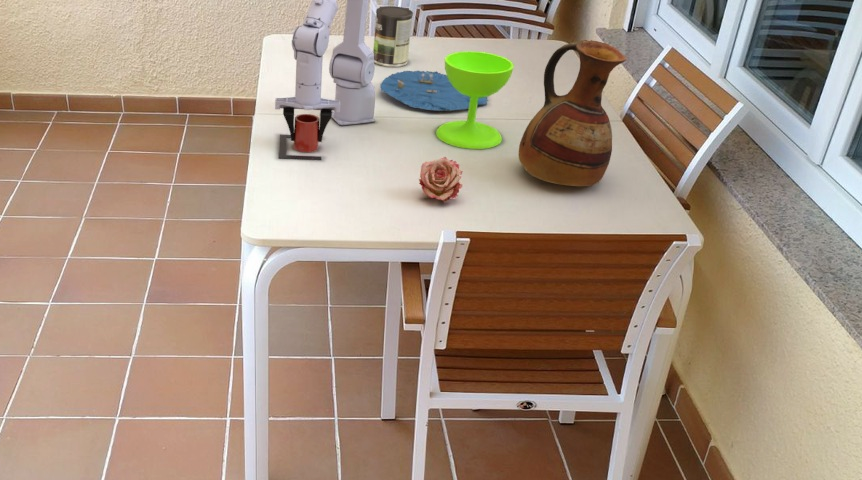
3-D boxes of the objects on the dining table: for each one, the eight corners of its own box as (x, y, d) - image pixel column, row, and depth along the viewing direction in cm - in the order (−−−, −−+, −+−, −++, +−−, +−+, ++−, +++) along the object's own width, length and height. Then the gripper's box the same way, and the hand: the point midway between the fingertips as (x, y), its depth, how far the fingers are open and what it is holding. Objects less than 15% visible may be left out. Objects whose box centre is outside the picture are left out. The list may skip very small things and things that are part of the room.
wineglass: (459, 152, 225) (469, 76, 215) (423, 128, 237) (431, 54, 227) (515, 143, 232) (527, 69, 222) (477, 120, 243) (487, 48, 233)
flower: (415, 176, 209) (415, 157, 201) (457, 169, 209) (458, 150, 201) (423, 216, 205) (423, 198, 198) (465, 209, 205) (467, 190, 198)
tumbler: (312, 141, 226) (313, 113, 222) (321, 151, 222) (323, 121, 218) (290, 144, 224) (291, 115, 220) (299, 153, 220) (300, 124, 216)
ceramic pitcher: (586, 204, 206) (618, 65, 189) (500, 179, 214) (522, 43, 197) (616, 174, 220) (648, 42, 203) (534, 152, 228) (558, 23, 211)
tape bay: (320, 136, 229) (320, 136, 229) (321, 160, 218) (321, 159, 217) (279, 135, 228) (279, 134, 228) (278, 158, 217) (278, 157, 217)
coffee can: (374, 66, 273) (379, 15, 265) (370, 55, 282) (373, 5, 274) (410, 67, 274) (416, 16, 266) (404, 56, 283) (409, 6, 275)
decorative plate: (457, 76, 274) (460, 58, 271) (505, 113, 251) (509, 93, 248) (360, 77, 265) (362, 58, 262) (400, 116, 242) (402, 95, 239)
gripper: (275, 86, 210) (274, 145, 218) (341, 89, 211) (338, 147, 219) (276, 75, 216) (274, 133, 224) (340, 78, 217) (337, 136, 225)
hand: (306, 139), depth 222 cm, fingers closed on tumbler, 6 cm apart
